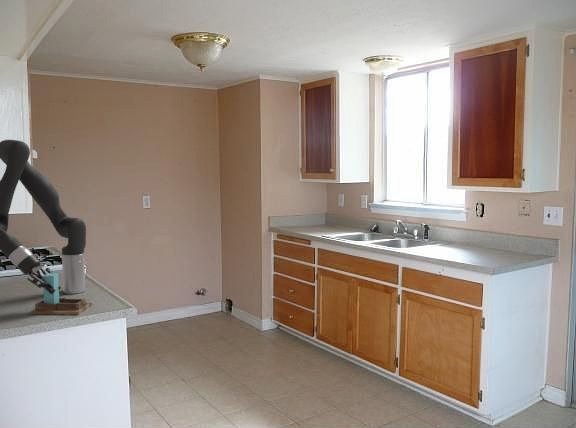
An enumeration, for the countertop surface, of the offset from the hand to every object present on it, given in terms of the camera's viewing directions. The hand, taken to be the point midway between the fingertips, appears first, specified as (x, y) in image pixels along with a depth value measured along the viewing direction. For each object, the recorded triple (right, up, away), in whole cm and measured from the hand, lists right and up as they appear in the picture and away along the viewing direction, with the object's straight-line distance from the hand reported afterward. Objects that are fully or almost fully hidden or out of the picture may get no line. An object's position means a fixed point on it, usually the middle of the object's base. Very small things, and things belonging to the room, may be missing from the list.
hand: (56, 290), depth 203 cm
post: (-2, -6, +1) cm, 6 cm away
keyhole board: (+2, -8, +1) cm, 8 cm away
